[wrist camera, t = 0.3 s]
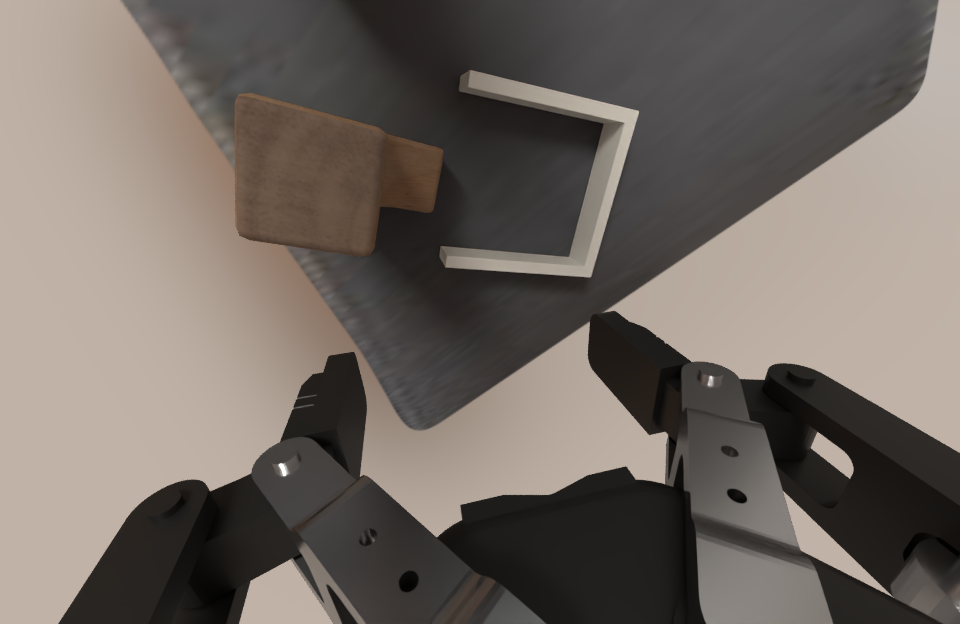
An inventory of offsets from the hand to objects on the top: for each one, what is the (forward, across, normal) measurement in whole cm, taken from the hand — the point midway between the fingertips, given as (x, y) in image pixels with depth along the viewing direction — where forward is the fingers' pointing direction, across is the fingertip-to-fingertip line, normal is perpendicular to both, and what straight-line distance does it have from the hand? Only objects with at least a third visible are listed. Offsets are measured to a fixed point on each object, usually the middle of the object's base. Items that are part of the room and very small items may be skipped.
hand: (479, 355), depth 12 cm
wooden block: (+21, +4, -5) cm, 22 cm away
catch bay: (+22, -9, -2) cm, 24 cm away
